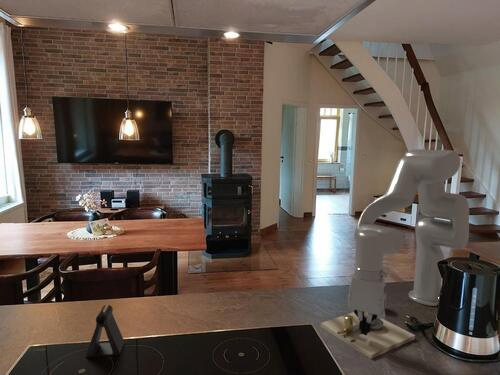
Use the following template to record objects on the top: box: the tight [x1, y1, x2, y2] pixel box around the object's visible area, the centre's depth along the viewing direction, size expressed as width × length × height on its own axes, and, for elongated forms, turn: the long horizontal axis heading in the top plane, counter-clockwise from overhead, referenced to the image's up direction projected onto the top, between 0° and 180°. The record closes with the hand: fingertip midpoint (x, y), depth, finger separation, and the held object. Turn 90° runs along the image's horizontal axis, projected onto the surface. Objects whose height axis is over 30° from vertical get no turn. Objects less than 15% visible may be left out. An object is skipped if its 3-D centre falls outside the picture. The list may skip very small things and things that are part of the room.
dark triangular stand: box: [85, 304, 125, 358], centre depth 99 cm, size 9×6×12 cm, turn 98°
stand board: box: [320, 312, 416, 360], centre depth 110 cm, size 20×20×2 cm
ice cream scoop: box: [339, 314, 383, 334], centre depth 109 cm, size 16×6×5 cm, turn 114°
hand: (364, 332), depth 104 cm, fingers closed
